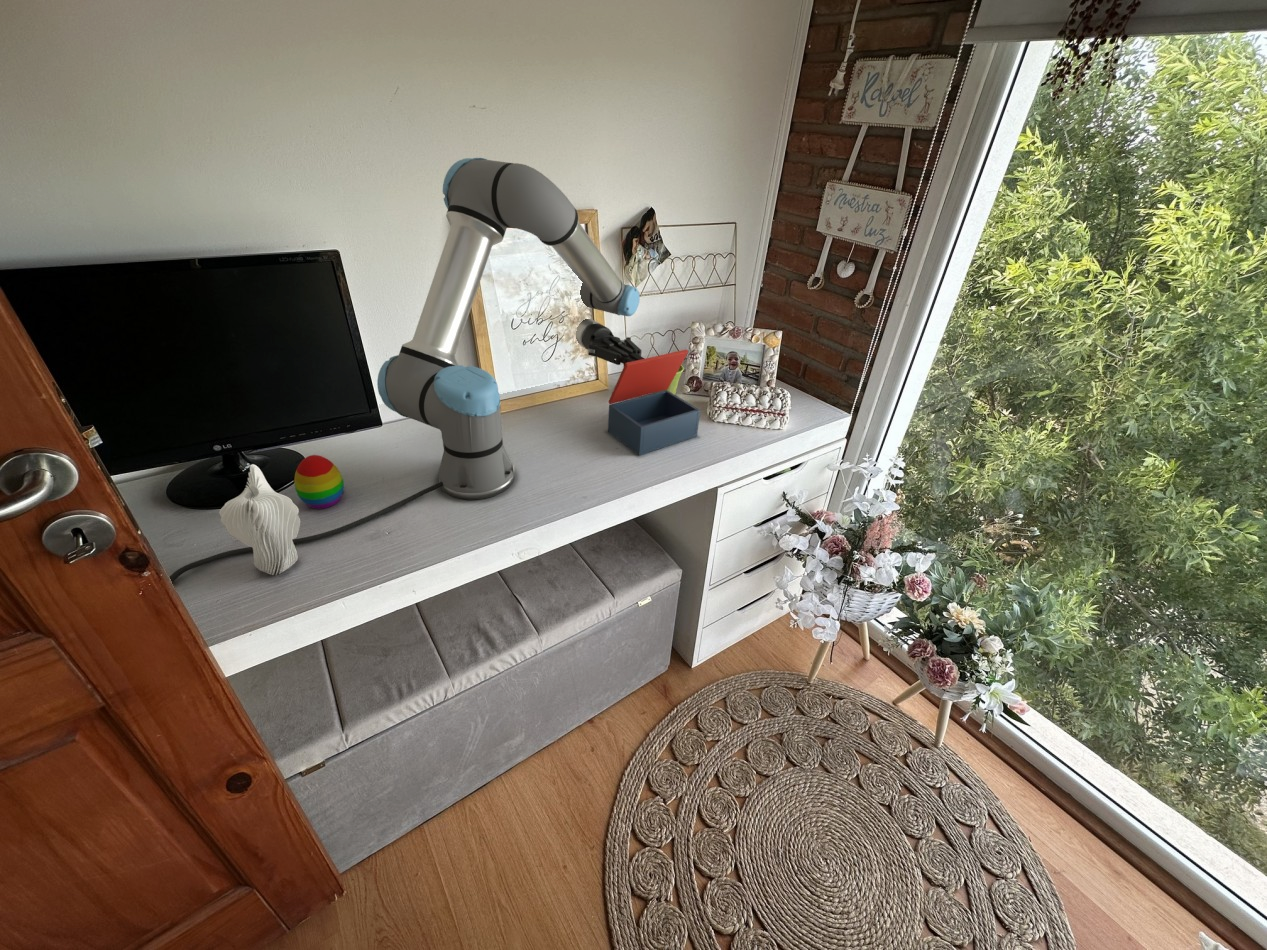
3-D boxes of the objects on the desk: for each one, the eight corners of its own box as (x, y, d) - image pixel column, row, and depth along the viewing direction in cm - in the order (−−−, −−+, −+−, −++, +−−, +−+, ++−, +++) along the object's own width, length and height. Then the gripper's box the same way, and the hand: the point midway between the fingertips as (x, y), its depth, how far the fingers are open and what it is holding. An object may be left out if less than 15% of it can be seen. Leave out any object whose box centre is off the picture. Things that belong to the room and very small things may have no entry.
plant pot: (664, 385, 167) (667, 357, 162) (687, 397, 161) (690, 368, 156) (639, 393, 161) (641, 364, 157) (662, 406, 155) (665, 376, 151)
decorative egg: (291, 506, 111) (276, 462, 105) (323, 485, 117) (311, 442, 112) (325, 517, 108) (311, 472, 103) (356, 494, 115) (345, 451, 110)
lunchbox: (697, 436, 142) (700, 410, 138) (639, 455, 133) (641, 427, 129) (664, 415, 151) (666, 389, 147) (607, 431, 142) (608, 404, 138)
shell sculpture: (278, 589, 93) (243, 498, 83) (240, 574, 95) (202, 483, 85) (319, 558, 99) (291, 470, 89) (283, 545, 101) (252, 457, 92)
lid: (688, 351, 136) (686, 349, 136) (627, 365, 127) (625, 362, 127) (667, 389, 147) (666, 386, 147) (609, 404, 138) (608, 401, 138)
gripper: (613, 346, 157) (668, 377, 141) (572, 354, 150) (624, 388, 135) (614, 319, 153) (670, 348, 137) (572, 326, 146) (626, 358, 131)
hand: (647, 368), depth 136 cm, fingers closed
